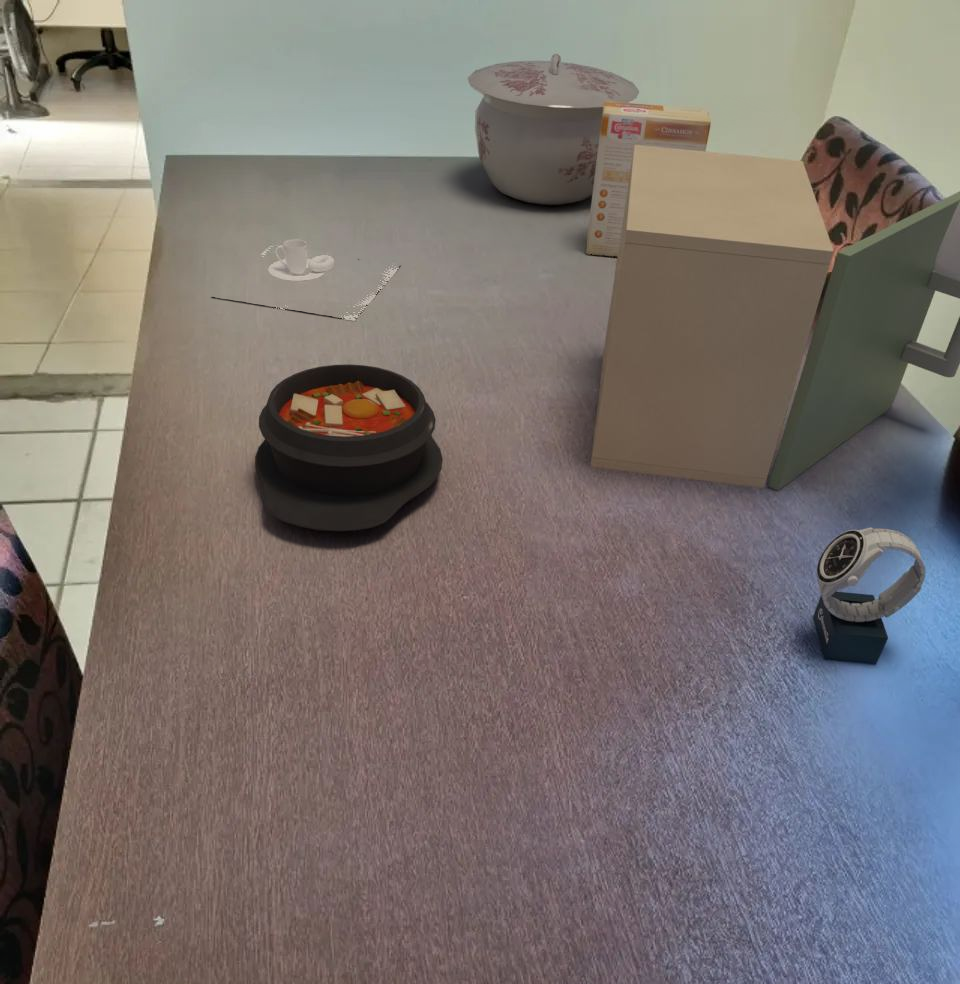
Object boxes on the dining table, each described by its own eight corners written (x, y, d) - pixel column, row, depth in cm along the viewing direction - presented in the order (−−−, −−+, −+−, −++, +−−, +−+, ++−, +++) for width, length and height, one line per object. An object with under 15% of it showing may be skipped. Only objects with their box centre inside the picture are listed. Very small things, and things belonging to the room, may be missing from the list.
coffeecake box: (682, 247, 150) (709, 107, 137) (685, 264, 145) (713, 121, 132) (586, 238, 151) (603, 98, 138) (585, 255, 146) (603, 111, 133)
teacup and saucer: (340, 267, 137) (338, 238, 134) (319, 288, 131) (317, 258, 129) (282, 258, 139) (279, 229, 136) (259, 279, 133) (255, 249, 130)
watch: (790, 615, 85) (826, 511, 78) (882, 624, 85) (927, 521, 78) (800, 659, 81) (840, 553, 74) (897, 668, 81) (946, 563, 74)
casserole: (419, 559, 88) (420, 480, 83) (220, 534, 90) (208, 456, 84) (459, 423, 107) (462, 351, 101) (293, 404, 108) (287, 332, 102)
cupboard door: (939, 426, 112) (1030, 209, 96) (829, 515, 97) (914, 276, 81) (882, 403, 115) (960, 190, 99) (767, 486, 100) (837, 251, 84)
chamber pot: (514, 229, 152) (526, 80, 138) (435, 176, 169) (438, 39, 155) (658, 208, 163) (682, 69, 149) (570, 160, 180) (583, 31, 166)
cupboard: (748, 372, 120) (803, 160, 103) (764, 489, 100) (834, 250, 84) (603, 356, 121) (634, 144, 105) (590, 467, 102) (626, 229, 85)
